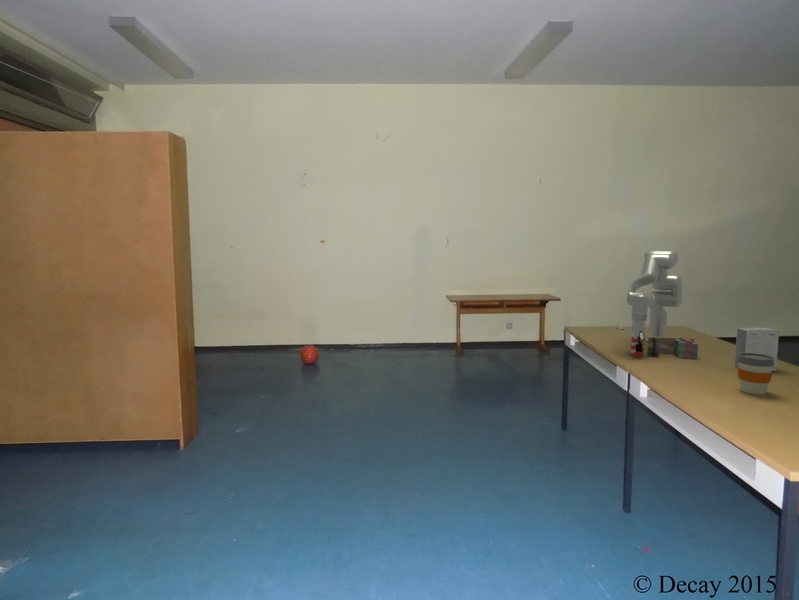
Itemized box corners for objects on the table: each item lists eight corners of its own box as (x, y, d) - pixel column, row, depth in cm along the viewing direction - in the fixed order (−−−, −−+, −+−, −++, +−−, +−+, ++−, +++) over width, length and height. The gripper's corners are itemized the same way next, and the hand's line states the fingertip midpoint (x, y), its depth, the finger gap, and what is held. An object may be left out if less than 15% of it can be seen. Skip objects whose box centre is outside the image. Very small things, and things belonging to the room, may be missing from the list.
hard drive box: (766, 367, 250) (770, 327, 247) (776, 371, 242) (780, 330, 240) (733, 366, 251) (737, 327, 249) (742, 370, 244) (745, 330, 241)
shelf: (646, 352, 282) (648, 335, 281) (691, 354, 277) (693, 337, 276) (652, 356, 271) (653, 339, 270) (699, 359, 267) (700, 341, 265)
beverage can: (629, 354, 276) (630, 333, 274) (641, 355, 275) (642, 333, 273) (632, 357, 270) (633, 335, 268) (644, 358, 269) (646, 336, 267)
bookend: (642, 352, 281) (643, 337, 279) (653, 353, 279) (654, 337, 278) (647, 357, 271) (648, 340, 270) (659, 357, 270) (660, 341, 269)
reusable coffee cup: (756, 386, 218) (759, 352, 216) (779, 395, 205) (782, 359, 204) (728, 386, 217) (731, 353, 216) (749, 396, 205) (752, 360, 203)
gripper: (627, 314, 279) (626, 346, 281) (635, 319, 262) (633, 353, 264) (642, 315, 277) (640, 347, 279) (651, 320, 260) (649, 354, 263)
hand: (637, 349), depth 272 cm, fingers closed on beverage can, 6 cm apart
